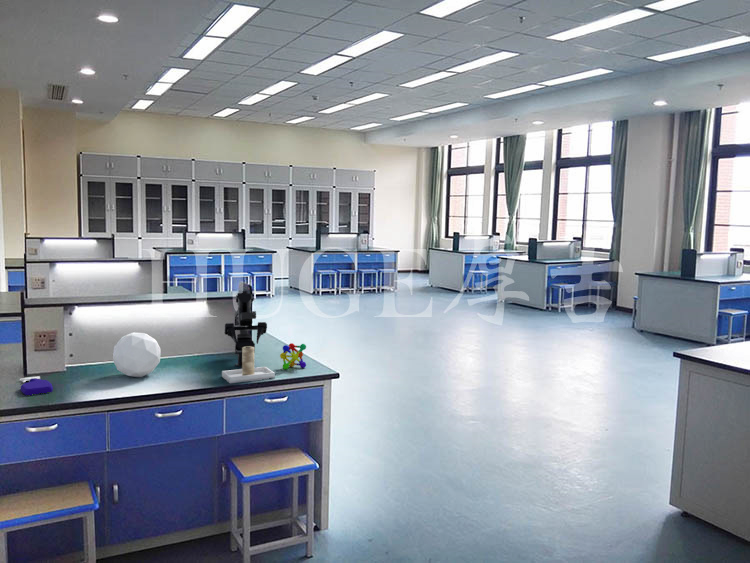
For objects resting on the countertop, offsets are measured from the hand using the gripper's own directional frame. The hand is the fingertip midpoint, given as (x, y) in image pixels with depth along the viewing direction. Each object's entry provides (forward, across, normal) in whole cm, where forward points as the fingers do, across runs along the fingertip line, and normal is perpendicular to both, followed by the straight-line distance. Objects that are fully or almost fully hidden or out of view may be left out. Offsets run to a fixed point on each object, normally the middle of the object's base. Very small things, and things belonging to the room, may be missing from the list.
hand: (246, 343), depth 275 cm
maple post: (+14, 0, +4) cm, 15 cm away
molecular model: (+5, +22, +14) cm, 27 cm away
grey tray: (+15, 0, +5) cm, 15 cm away
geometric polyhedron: (+6, -46, +14) cm, 49 cm away
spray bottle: (+13, -85, +7) cm, 86 cm away
